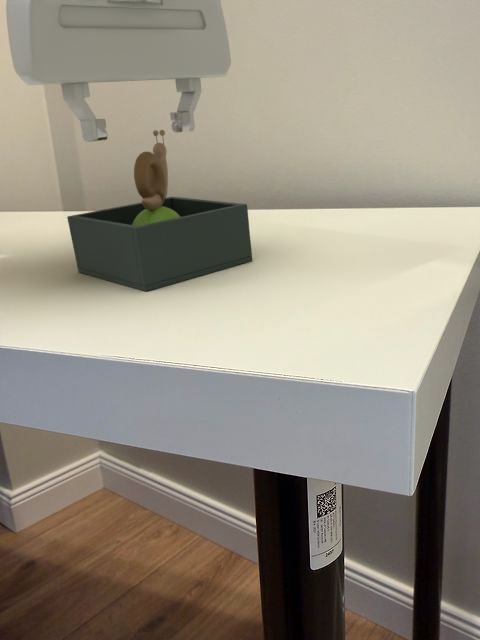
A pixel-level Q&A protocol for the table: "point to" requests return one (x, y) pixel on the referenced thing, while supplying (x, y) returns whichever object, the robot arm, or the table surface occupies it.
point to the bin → (161, 242)
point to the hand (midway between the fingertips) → (141, 136)
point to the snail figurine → (153, 184)
